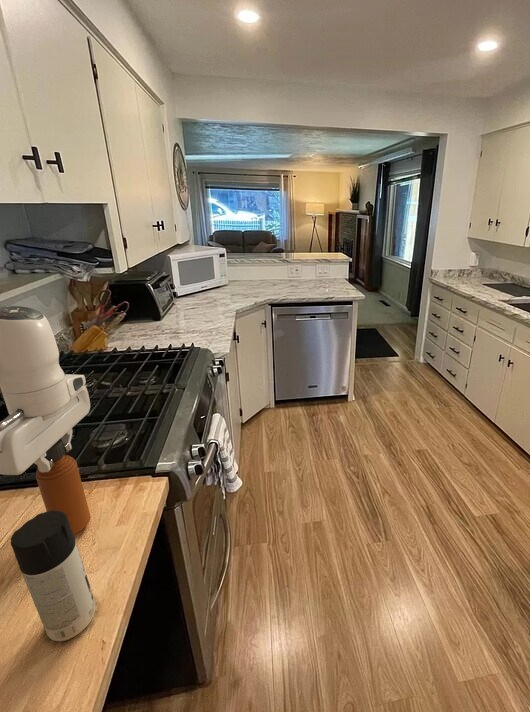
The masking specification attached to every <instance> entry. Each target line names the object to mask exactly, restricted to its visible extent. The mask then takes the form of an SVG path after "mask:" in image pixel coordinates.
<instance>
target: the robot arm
mask: <svg viewBox="0 0 530 712" xmlns="http://www.w3.org/2000/svg"><path fill="white" fill-rule="evenodd" d="M60 365H61V364H60V351H59V347H58V344H57V340H56V337H55V334H54V331H53V329H52V327H51V324H50V321H48V319H47V317H46V316H45V314H44V313H42V312H41V311H40V310H38V309H35V308H32V307H28V306H22V305H21V306H20V305H9V306H0V390H1V394H2V398H3V400H4V402H5V406H6V409H7V412H8V415H9V416H7V417H6V418H5V419H2V420H1V421H0V475H3V476H19V475H22V474H23V473H24V472H25V471H27V470H28V469H29V468H30V467H31V466H33V464H34V465H36V466H37V469H39V471H40V472H49V471H50V470H51V469H52V468H53V466H54V464H53V459H45V458H44V457H45V456H46V451H47V450H48V449H49V448H51V447H52V446H53V445H54V444H55V443H56V442H57V441H58V440H59V439H60V438H61V439H62V441H63V445H64V448H65V454H66V455H67V454H68V453H69V452H70V451H71V450H72V449H73V447H72V444H71V441H72V437H73V432H74V431H73V428H74V427H75V426H76V425H77V424H78V423H79V422H81V420H82V419H84V418H85V417H86V416H87V415H88V414H89V413H90V410H91V401H90V400H91V399H90V395H89V392H88V388H87V386H86V383H87V382H86V377H85V375H84V374H75V373H73V374H68V373H67V374H65V372H64V370H63V369H62V367H61V366H60Z"/></svg>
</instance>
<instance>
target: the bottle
mask: <svg viewBox="0 0 530 712" xmlns="http://www.w3.org/2000/svg"><path fill="white" fill-rule="evenodd" d="M53 464H54V466H53V468H52V469H51V470H50V471H49V472H40V471H39V469H38V468H37V469H36V471H35V480H36V482H37V485H38V488H39V491H40V495H41V498H42V501H43V504H44V507H45V510H46V511H45V512H48V511H53V510H56V511H62V512H64V513H65V514H66V515H67V517H68V520H69V523H70V526H71V529H72V532H73V534H74V535H75V534H77V533H79V532H81V531H82V530H83V529H85V527H87V525H88V524H89V523H90V521H91V517H92V516H91V511H90V509H89V504H88V501H87V497H86V494H85V490H84V486H83V483H82V479H81V475H80V471H79V466H78V464H77V460H76V459H75V458H74V457H72V456H70V455H68V454H67V453H66V454H64V456H63V457H61V458H60V459H58V460H56V461H53Z"/></svg>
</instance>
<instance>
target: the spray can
mask: <svg viewBox="0 0 530 712" xmlns="http://www.w3.org/2000/svg"><path fill="white" fill-rule="evenodd" d="M10 546H11V549H12V551H13V554H14V556H15V559H16V562H17V564H18V568H19V570H20V573H21V574H22V577H23V578H24V582H25V584H26V587H27V589H28V591H29V595H30V597H31V600H32V601H33V604H34V606H35V609H36V612H37V613H38V616H39V619H40V621H41V623H42V626H43V629H44V631H45V633H46V636H47V637H48V638H49V639H50V640H52V641H54V642H65V641H69V640H71V639H73V638H74V637H76V636H77V635H79V634H81V633H82V632H83V631H84V630H85V629H87V627H88V626H89V625H90V623H91V622H92V620H93V618H94V615H95V614H96V613H95V612H96V600H95V596H94V595H93V589H92V588H91V584H90V581H89V579H88V575H87V573H86V569H85V565H84V564H83V560H82V559H83V558H82V556H81V552H80V550H79V547H78V546H79V545H78V543H77V540H76V537H75V534H73V532H72V529H71V526H70V523H69V520H68V517H67V515H66V514H65V513H64V512H62V511H56V510H53V511H48V512H47V511H45V512H41V513H38V514H37V515H35V516H34V517H33V518H31V519H28V520H27V521H25V522H24V523H23V524H22V525H21V526H20V527H19V528H18V529H17V530H15V531H14V532H13V533H12V535H11V537H10Z"/></svg>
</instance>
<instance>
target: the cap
mask: <svg viewBox="0 0 530 712" xmlns="http://www.w3.org/2000/svg"><path fill="white" fill-rule="evenodd" d="M64 454H65V448H64V445H63V441H62V439H61V438H60V439H59V440H58V441H57V442H56V443H55V444H54V445H53V446H52V447H51V448H49V449H48V450H47V451H46V456H45V457H44V458H45V459H53V461H56V460H58V459H60V458H61V457H63V456H64Z"/></svg>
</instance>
